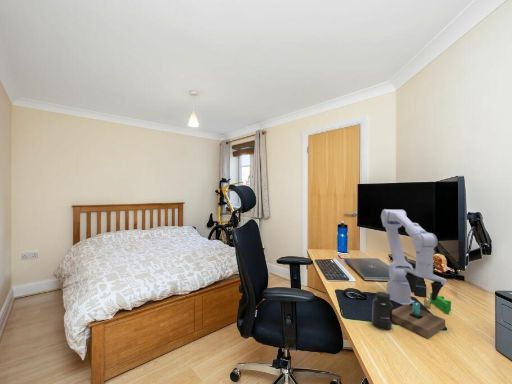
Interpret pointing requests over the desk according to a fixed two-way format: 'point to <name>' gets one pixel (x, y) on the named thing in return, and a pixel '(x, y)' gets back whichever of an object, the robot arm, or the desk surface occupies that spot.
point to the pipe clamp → (441, 304)
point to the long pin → (416, 310)
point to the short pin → (427, 302)
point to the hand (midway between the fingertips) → (423, 295)
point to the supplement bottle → (382, 311)
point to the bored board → (418, 321)
